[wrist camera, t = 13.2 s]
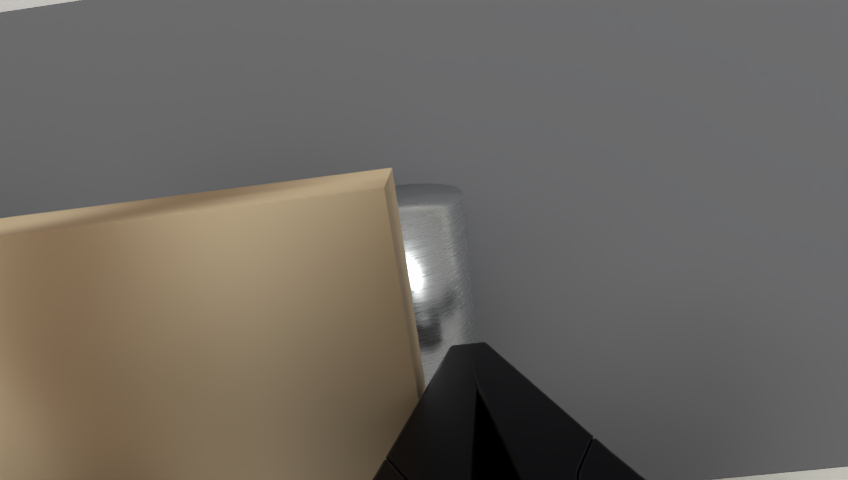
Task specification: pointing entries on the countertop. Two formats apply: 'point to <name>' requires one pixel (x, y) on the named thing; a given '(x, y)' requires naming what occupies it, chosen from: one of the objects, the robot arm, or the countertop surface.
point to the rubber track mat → (514, 179)
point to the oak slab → (209, 335)
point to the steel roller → (437, 269)
